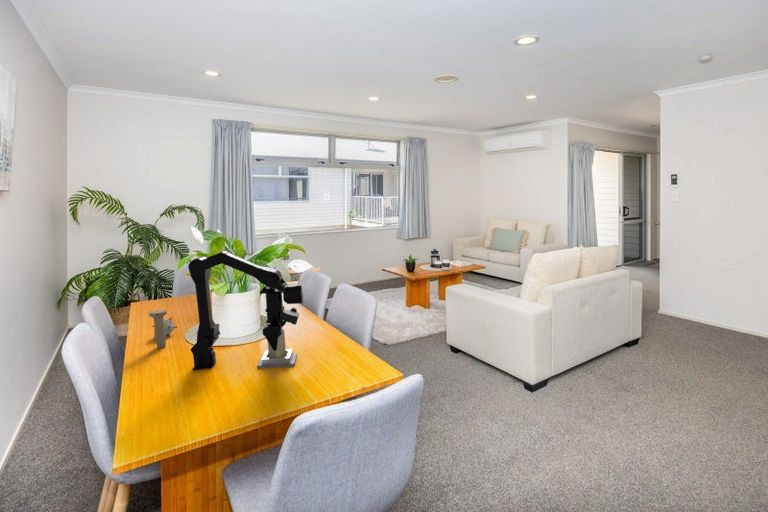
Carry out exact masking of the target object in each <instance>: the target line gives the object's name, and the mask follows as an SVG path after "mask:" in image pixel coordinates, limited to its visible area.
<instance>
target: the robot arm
mask: <svg viewBox="0 0 768 512" xmlns="http://www.w3.org/2000/svg"><path fill="white" fill-rule="evenodd" d="M219 265H225V266H227V267H230V268H232V269H235V270H237V271H239V272H241V273H244V274H246V275H248V276H250V277H253V279H254V278H255V279H256V280H257V281H258V282H260V284H262V285H264V286H263V287H262V288H261V289H260V291H259V294H260V295H261V294H262V295H263V294H265V306H266V307H265V313H266V320H265V323H266V324H265V326H264V327H263V328H262V336H263V337H265V339H266V340H267V343H268V342H269V344H270V345H271V347H272V349H273V351H276V350H277V344H278V337H279V336H280V335H281V334H282V330H283V328H284V326H285V325H286V324H287V323H289V324H291V325H295V326H296V325H297V322H298V319H299V317H300V313H299V312H298V309H297V308H296V307H292V308H290V309H285V305H284V304H283V302H284V303H286V304H287V305H297V304H298V305H299V304H303V303H304V291H303V285H302V284H295V285H288V283H287V282H286V281H285V280H284V278H283V276H282V272H281V271H280V270H279V269H276V268H272V267H268V266H267V267H266V266H260V265H258V264H256V263H253V262H250V261H248V260H247V259H244V258H241V257H239V256H237V255H234V254H232V253H230V252H228V251H226V250H222V251H220V252H218V253H215V254H213V255H209V256H198V257H196V258H194V259H192V260H190V262H189V263H188V265H187V266H188V267H187V269H188V271H189V275H190V278H191V279H192V281H193V283H194V287H195V296H196V303H197V305H196V306H197V313H198V321H199V324H198V328H197V333H196V335H197V336H196V343H195V344H194V345H193V346H192V347H191V348H190V351H191V352H190V353H191V354H192V358H193V365H194V366H193V367H192V370H193V371H196V370H210V369H213V367H214V365H216V363H217V357H216V351H214V347H213V346H214V344H215V343H216V342H217V340H218V338H219V336H220V334H221V331H220V323H215V321H214V319H213V311H212V302H211V292H210V290H211V289H210V283H209V282H210V277H211V273H212V271H211V270H212V268H214V267H216V266H219Z"/></svg>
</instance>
